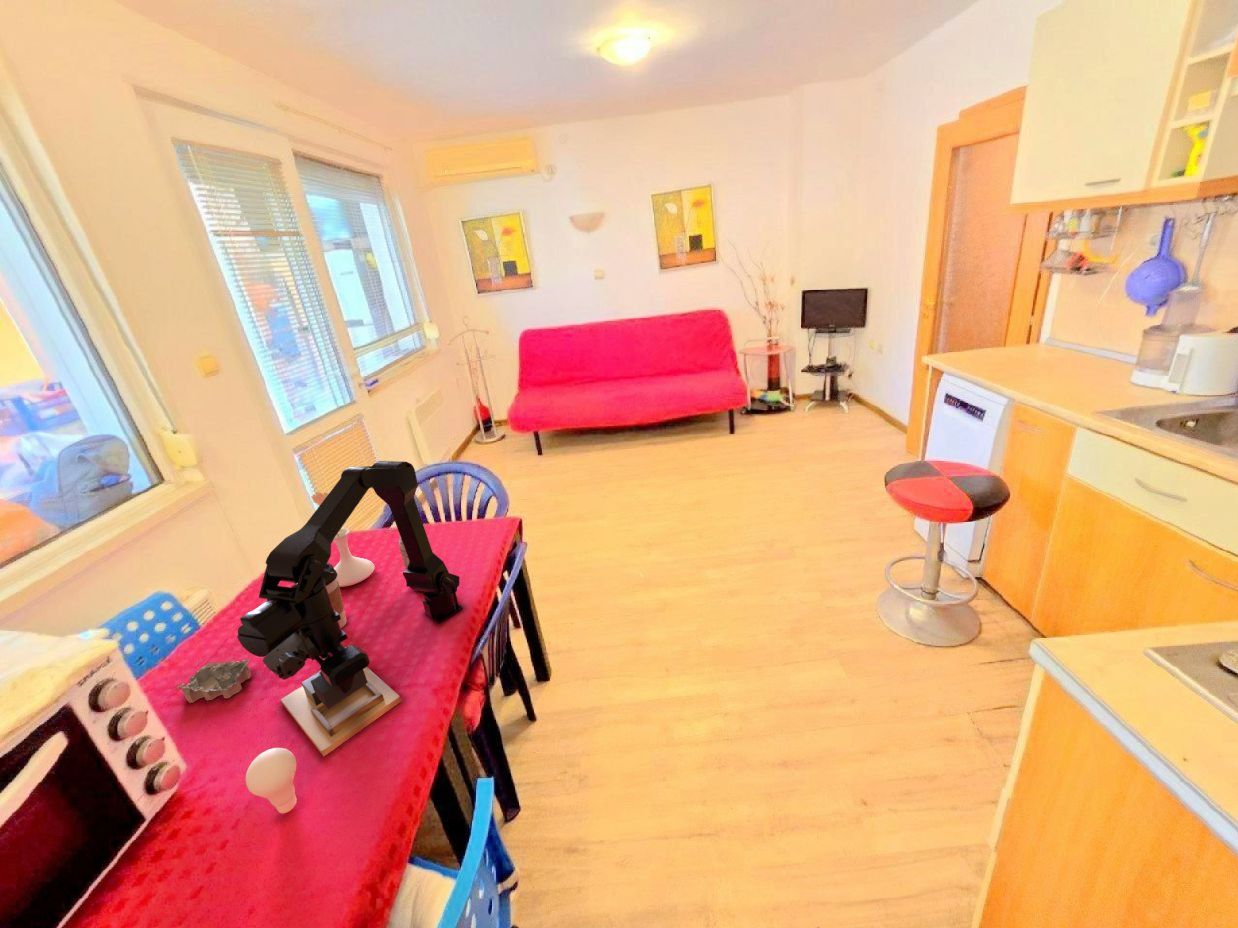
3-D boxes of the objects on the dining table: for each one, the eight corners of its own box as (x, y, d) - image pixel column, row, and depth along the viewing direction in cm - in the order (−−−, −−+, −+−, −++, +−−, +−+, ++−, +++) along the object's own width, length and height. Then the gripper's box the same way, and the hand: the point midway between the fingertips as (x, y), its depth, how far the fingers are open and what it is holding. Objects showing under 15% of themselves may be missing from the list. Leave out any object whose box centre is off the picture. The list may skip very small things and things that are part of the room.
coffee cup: (334, 639, 112) (314, 583, 107) (303, 636, 114) (281, 580, 109) (360, 615, 120) (342, 561, 114) (330, 612, 122) (311, 559, 116)
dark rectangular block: (355, 671, 94) (350, 656, 93) (368, 683, 91) (362, 668, 90) (316, 695, 90) (310, 680, 88) (328, 709, 87) (322, 694, 85)
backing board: (355, 659, 106) (349, 643, 104) (401, 701, 94) (396, 683, 93) (282, 703, 96) (274, 687, 94) (323, 756, 84) (316, 738, 83)
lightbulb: (277, 837, 72) (251, 784, 68) (257, 816, 76) (231, 764, 72) (319, 800, 77) (297, 748, 73) (299, 782, 80) (276, 731, 76)
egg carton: (179, 705, 98) (170, 688, 96) (207, 675, 105) (199, 660, 103) (234, 699, 98) (226, 683, 96) (258, 670, 105) (251, 655, 103)
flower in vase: (385, 572, 137) (360, 488, 127) (344, 595, 128) (314, 507, 119) (357, 561, 143) (332, 481, 134) (317, 582, 135) (287, 498, 126)
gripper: (240, 619, 84) (272, 690, 90) (281, 666, 73) (314, 744, 79) (311, 586, 92) (335, 653, 98) (357, 623, 81) (382, 697, 87)
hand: (340, 684), depth 90 cm, fingers closed on dark rectangular block, 5 cm apart
